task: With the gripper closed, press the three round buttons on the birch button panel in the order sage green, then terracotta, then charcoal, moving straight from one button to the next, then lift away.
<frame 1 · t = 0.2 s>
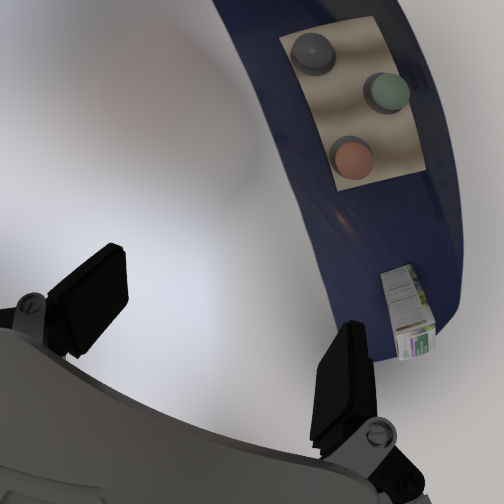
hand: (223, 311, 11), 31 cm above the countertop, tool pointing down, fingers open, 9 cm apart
syrup box: (397, 281, 41), on the countertop
terracotta button: (353, 160, 30), point 5 cm above the countertop, slide at 0.0 cm
charcoal button: (313, 51, 24), point 5 cm above the countertop, slide at 0.0 cm
button panel: (356, 100, 30), on the countertop
green button: (389, 91, 24), point 5 cm above the countertop, slide at 0.0 cm
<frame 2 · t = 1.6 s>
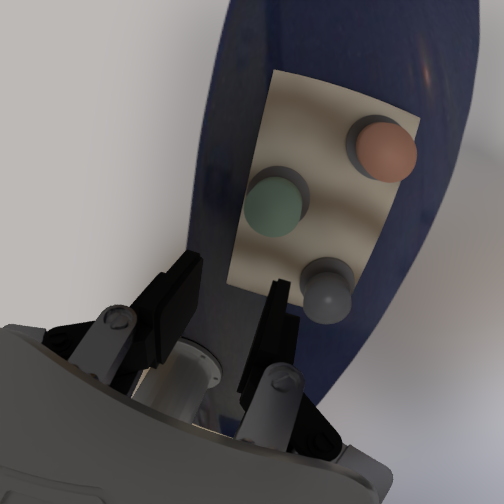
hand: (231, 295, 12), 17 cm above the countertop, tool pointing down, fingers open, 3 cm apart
terracotta button: (385, 151, 18), point 5 cm above the countertop, slide at 0.0 cm
charcoal button: (327, 298, 25), point 5 cm above the countertop, slide at 0.0 cm
button panel: (316, 199, 26), on the countertop
green button: (273, 206, 22), point 5 cm above the countertop, slide at 0.0 cm
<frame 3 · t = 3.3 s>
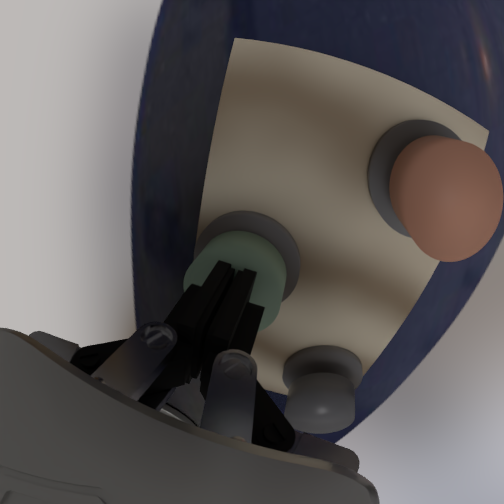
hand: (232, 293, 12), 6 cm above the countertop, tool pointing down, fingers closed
terracotta button: (447, 195, 8), point 5 cm above the countertop, slide at 0.0 cm
charcoal button: (320, 405, 15), point 5 cm above the countertop, slide at 0.0 cm
button panel: (312, 257, 17), on the countertop
green button: (236, 283, 13), point 5 cm above the countertop, slide at 0.7 cm, touching gripper
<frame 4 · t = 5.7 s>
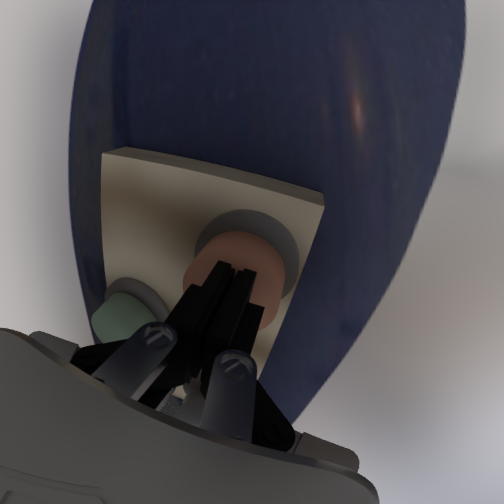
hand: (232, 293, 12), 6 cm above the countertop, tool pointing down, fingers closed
terracotta button: (235, 283, 13), point 5 cm above the countertop, slide at 0.4 cm, touching gripper
charcoal button: (205, 417, 19), point 5 cm above the countertop, slide at 0.0 cm
button panel: (193, 305, 21), on the countertop
green button: (124, 327, 17), point 5 cm above the countertop, slide at 0.8 cm
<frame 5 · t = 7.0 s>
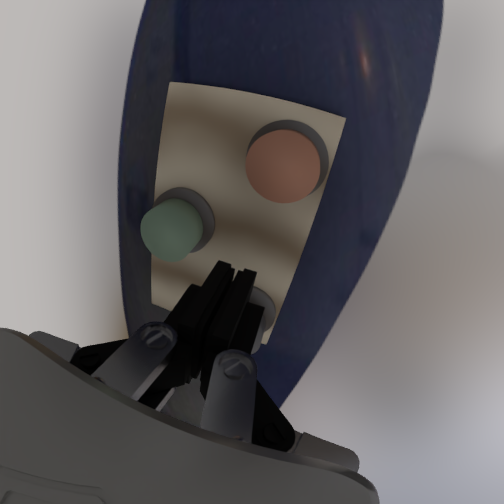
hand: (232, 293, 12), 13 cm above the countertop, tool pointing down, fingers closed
terracotta button: (284, 164, 16), point 5 cm above the countertop, slide at 0.7 cm
charcoal button: (237, 329, 23), point 5 cm above the countertop, slide at 0.0 cm
button panel: (231, 220, 24), on the countertop
green button: (171, 229, 21), point 5 cm above the countertop, slide at 0.8 cm
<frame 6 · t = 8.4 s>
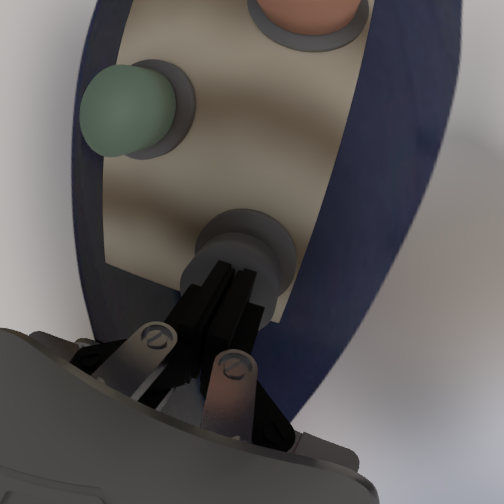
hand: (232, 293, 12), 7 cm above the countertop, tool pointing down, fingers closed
charcoal button: (232, 285, 13), point 5 cm above the countertop, slide at 0.0 cm, touching gripper
button panel: (223, 116, 14), on the countertop
green button: (125, 109, 11), point 5 cm above the countertop, slide at 0.8 cm
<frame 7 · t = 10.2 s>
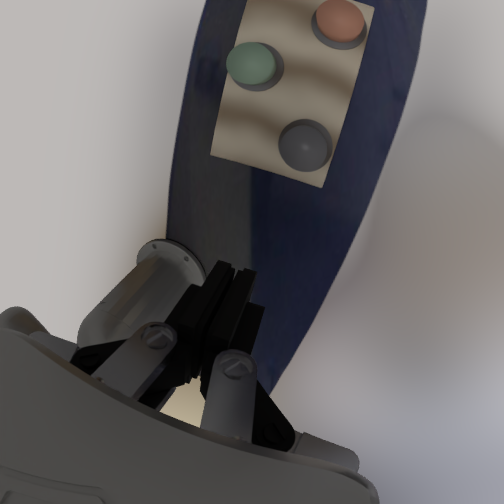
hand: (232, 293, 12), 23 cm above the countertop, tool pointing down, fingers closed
terracotta button: (339, 20, 17), point 5 cm above the countertop, slide at 0.7 cm
charcoal button: (304, 147, 25), point 5 cm above the countertop, slide at 0.8 cm
button panel: (292, 77, 25), on the countertop
green button: (251, 64, 22), point 5 cm above the countertop, slide at 0.8 cm
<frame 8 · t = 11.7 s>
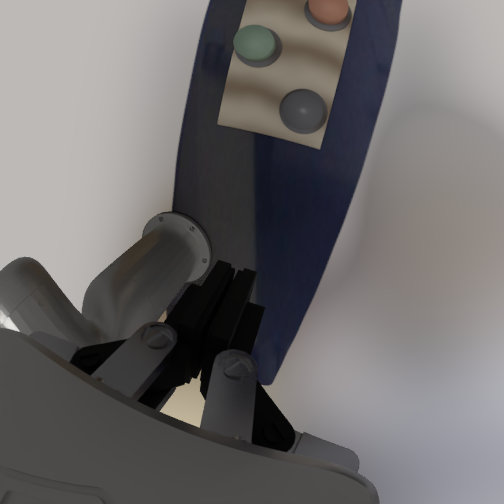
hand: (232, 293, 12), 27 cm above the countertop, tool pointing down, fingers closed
terracotta button: (328, 6, 20), point 5 cm above the countertop, slide at 0.7 cm
charcoal button: (302, 110, 27), point 5 cm above the countertop, slide at 0.8 cm
button panel: (289, 56, 28), on the countertop
green button: (255, 43, 24), point 5 cm above the countertop, slide at 0.8 cm
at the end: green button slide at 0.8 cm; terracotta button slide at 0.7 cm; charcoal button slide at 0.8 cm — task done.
